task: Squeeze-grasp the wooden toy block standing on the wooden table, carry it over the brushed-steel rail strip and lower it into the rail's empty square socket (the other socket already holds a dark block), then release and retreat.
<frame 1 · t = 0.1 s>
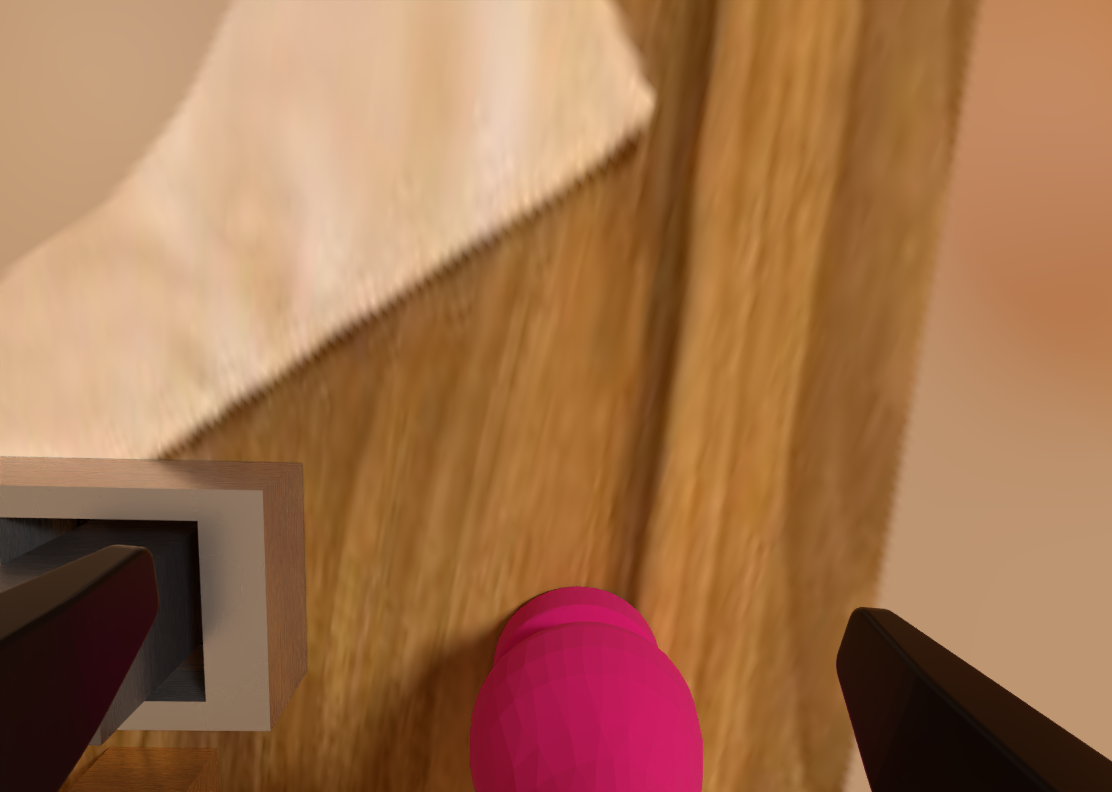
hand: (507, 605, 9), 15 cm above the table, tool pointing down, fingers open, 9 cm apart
pepper mill: (575, 659, 25), on the table
rail: (52, 565, 24), on the table
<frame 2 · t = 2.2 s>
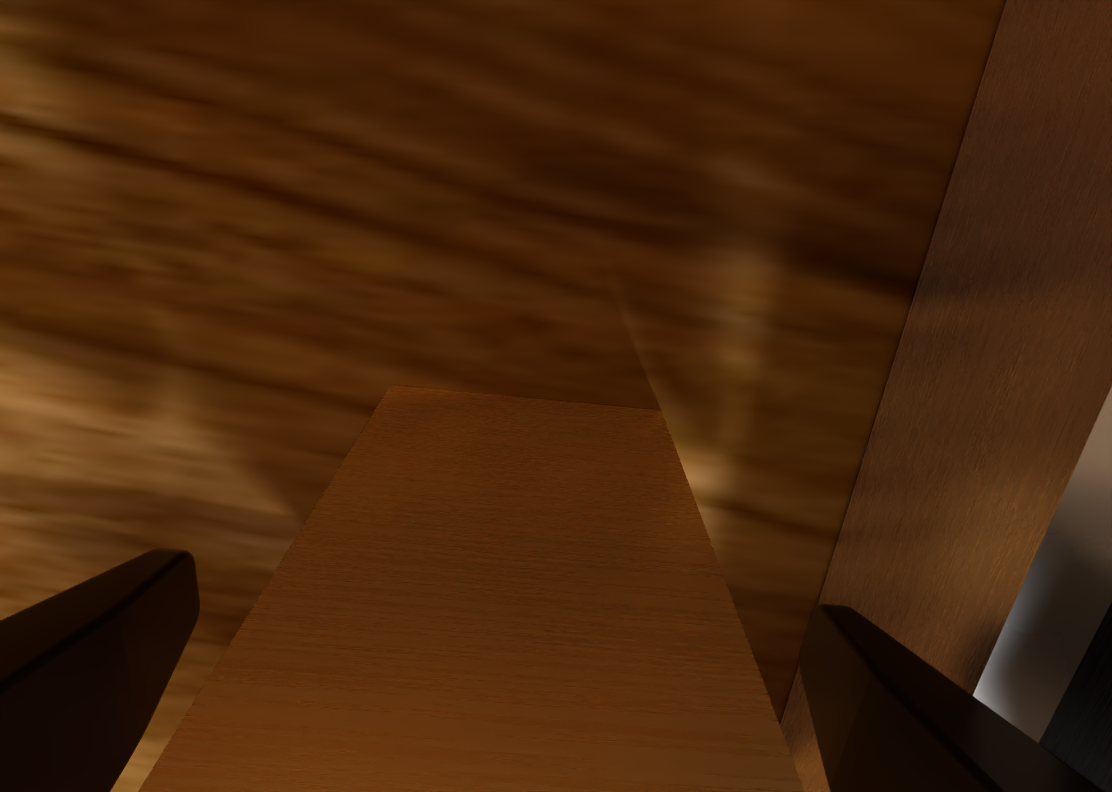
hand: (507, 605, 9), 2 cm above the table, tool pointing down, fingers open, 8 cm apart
wooden toy block: (516, 513, 11), on the table
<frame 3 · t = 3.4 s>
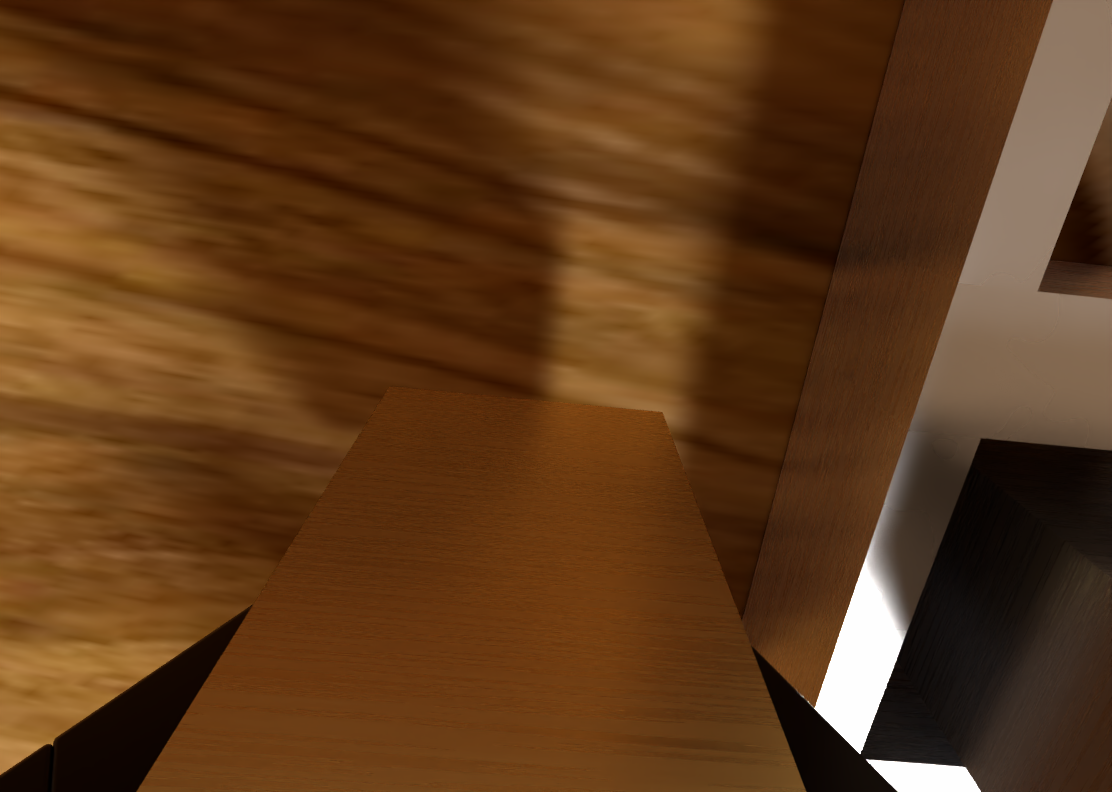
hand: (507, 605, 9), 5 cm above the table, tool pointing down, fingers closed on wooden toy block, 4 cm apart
rail: (1046, 317, 12), on the table
wooden toy block: (515, 516, 10), point 3 cm above the table, touching gripper
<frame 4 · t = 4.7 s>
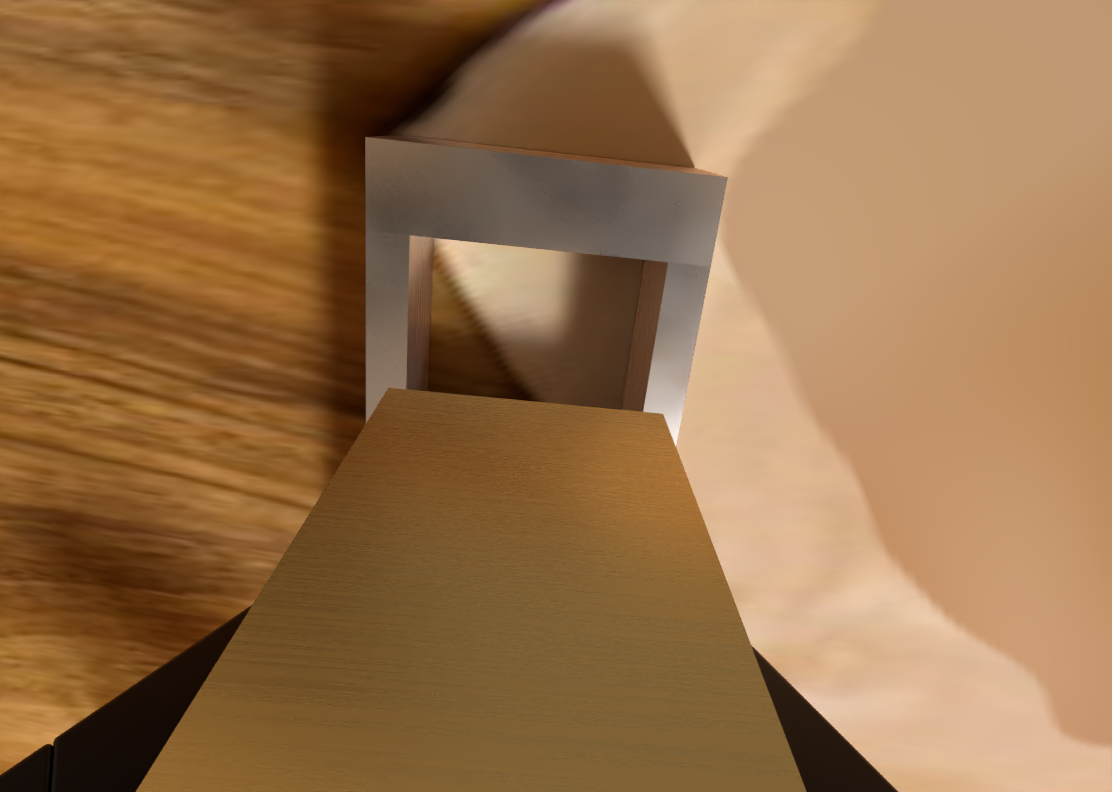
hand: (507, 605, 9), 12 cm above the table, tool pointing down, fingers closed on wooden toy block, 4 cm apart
rail: (520, 450, 21), on the table
wooden toy block: (515, 518, 10), point 10 cm above the table, touching gripper
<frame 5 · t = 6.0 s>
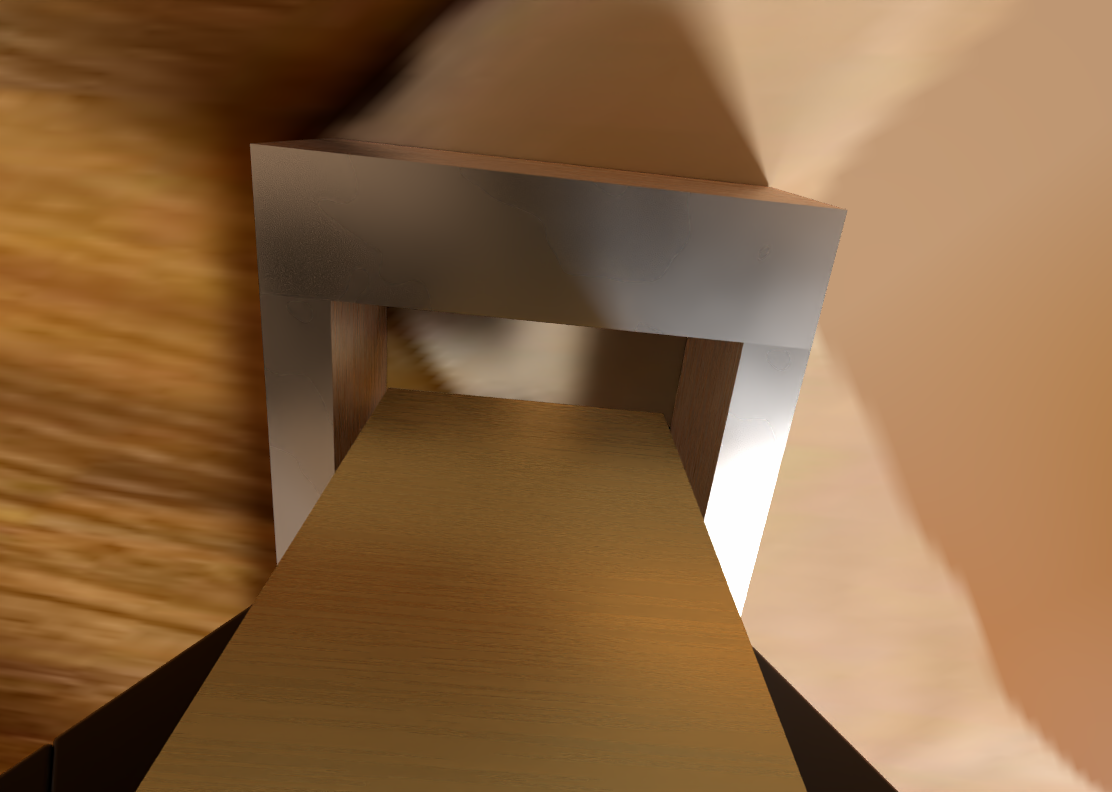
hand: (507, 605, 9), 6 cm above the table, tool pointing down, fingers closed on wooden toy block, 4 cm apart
rail: (514, 569, 15), on the table
wooden toy block: (515, 518, 10), point 4 cm above the table, touching gripper
when the fingers open (4 cm above the table, at t = 6.8 s): wooden toy block drops 2 cm, resting in rail.
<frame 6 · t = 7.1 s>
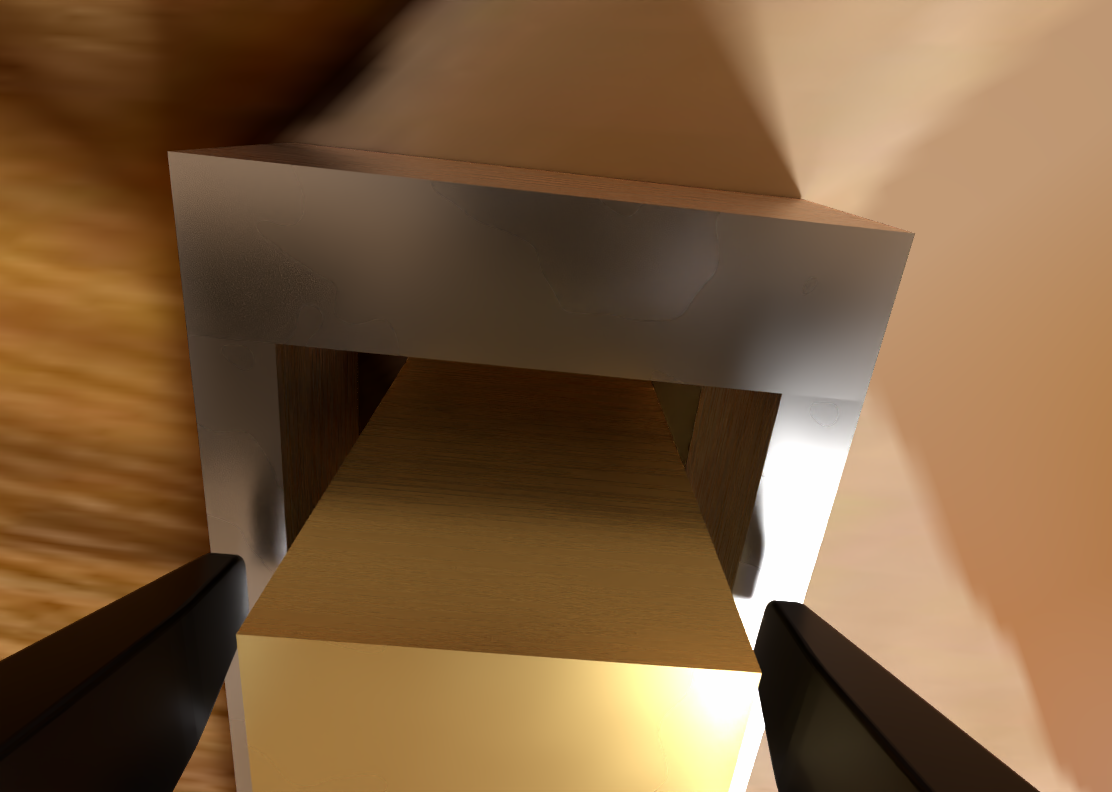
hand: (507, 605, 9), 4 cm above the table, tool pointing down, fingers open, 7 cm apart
rail: (506, 628, 14), on the table
wooden toy block: (522, 458, 12), resting in rail
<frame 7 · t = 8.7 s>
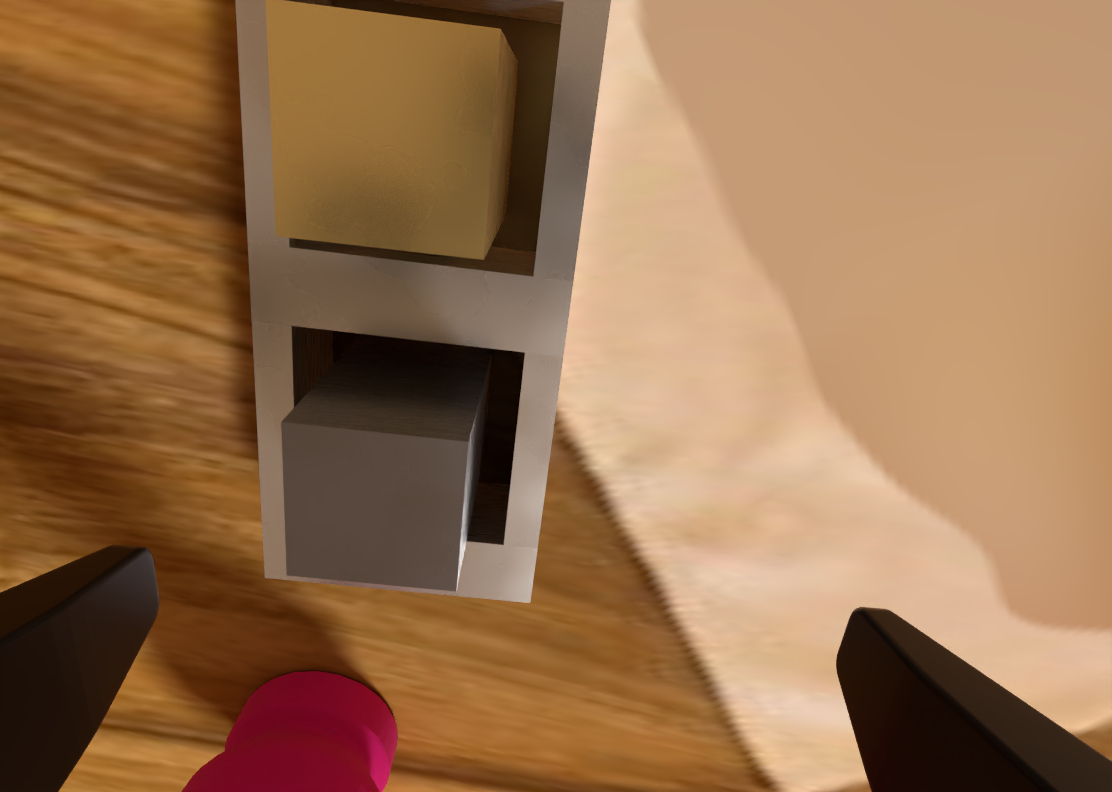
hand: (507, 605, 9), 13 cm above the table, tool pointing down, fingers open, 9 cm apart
pepper mill: (322, 723, 27), on the table
rail: (433, 272, 20), on the table
wooden toy block: (440, 133, 19), resting in rail
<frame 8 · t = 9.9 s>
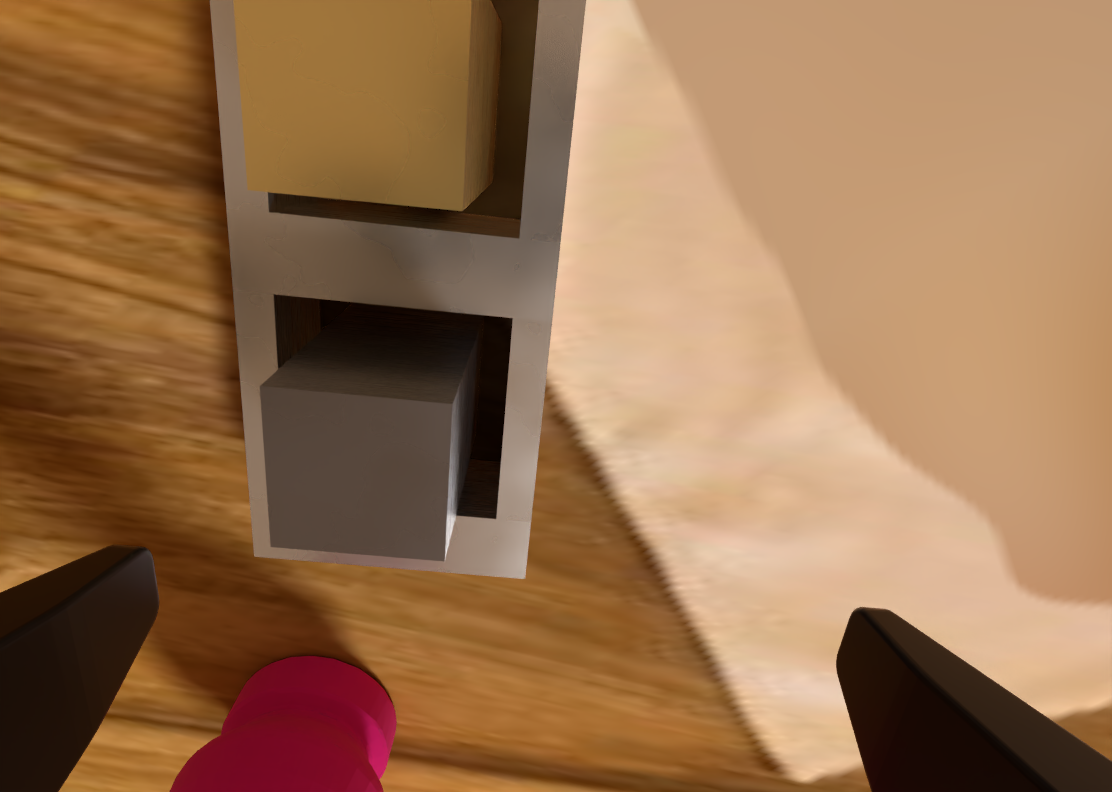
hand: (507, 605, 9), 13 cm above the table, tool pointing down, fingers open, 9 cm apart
pepper mill: (320, 709, 27), on the table
rail: (420, 243, 20), on the table
wooden toy block: (424, 98, 18), resting in rail
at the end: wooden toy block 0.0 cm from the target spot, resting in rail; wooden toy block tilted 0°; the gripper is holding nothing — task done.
